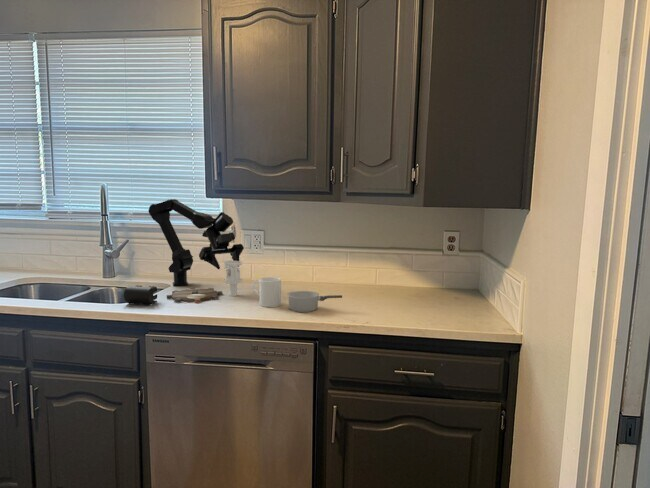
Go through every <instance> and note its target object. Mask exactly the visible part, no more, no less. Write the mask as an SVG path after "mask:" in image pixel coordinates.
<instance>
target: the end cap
mask: <svg viewBox="0 0 650 488" xmlns="http://www.w3.org/2000/svg"><path fill="white" fill-rule="evenodd" d="M157 292H158V287H157V286H154V285H153V286H152V285H149V286H142V285H134V286H133V285H131V286H130V285H128V286H126V287H125V288H124V290H123V299H124V302H126V303H127V304H130V303H134V304H133V305H145V304H147V305H146V306H148V305H150V306H152V305H154V304H156V303H158V301H157V299H158V294H154V293H157ZM151 304H152V305H151ZM130 305H131V304H130Z"/></svg>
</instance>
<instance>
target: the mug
mask: <svg viewBox="0 0 650 488" xmlns="http://www.w3.org/2000/svg"><path fill="white" fill-rule="evenodd" d="M256 284H258V285H259V292H258V290H257V289H256V287H255V285H256ZM250 287H251V289H252V290H253V291H252V292H253V293H254V294H255V295H257V296H259V306H260V307H263V308H277V307H280V306H281V305H282V279H281V278H280V277H277V276H276V277H275V276H273V277H272V276H267V277H261V278H260V279H259V280H253V281H252V283H251V285H250Z"/></svg>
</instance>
